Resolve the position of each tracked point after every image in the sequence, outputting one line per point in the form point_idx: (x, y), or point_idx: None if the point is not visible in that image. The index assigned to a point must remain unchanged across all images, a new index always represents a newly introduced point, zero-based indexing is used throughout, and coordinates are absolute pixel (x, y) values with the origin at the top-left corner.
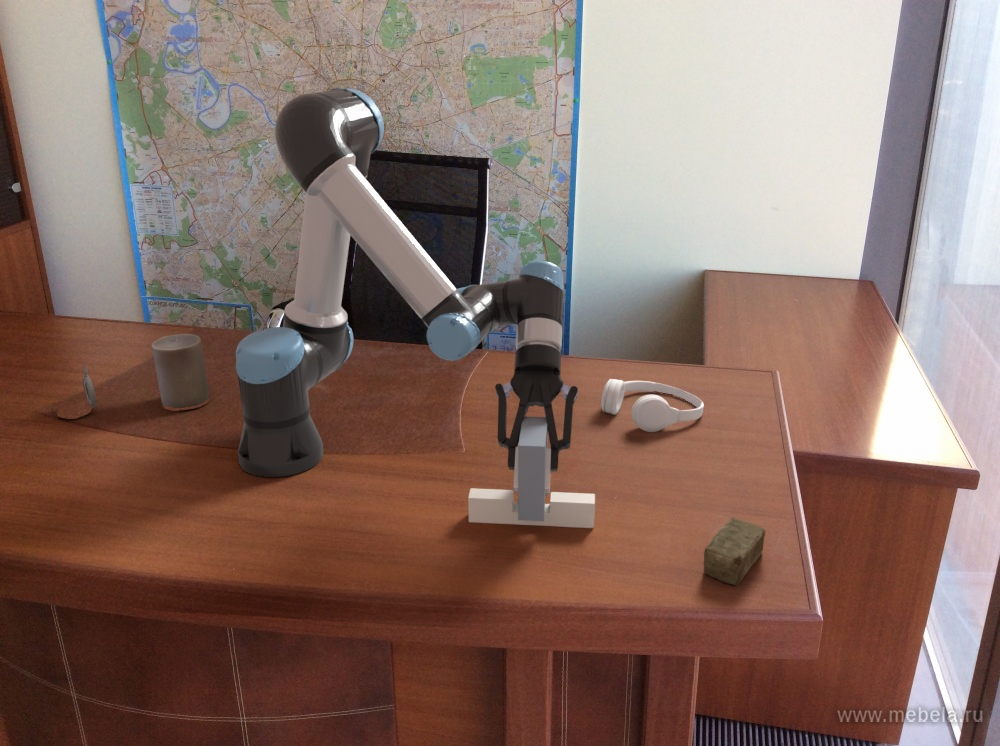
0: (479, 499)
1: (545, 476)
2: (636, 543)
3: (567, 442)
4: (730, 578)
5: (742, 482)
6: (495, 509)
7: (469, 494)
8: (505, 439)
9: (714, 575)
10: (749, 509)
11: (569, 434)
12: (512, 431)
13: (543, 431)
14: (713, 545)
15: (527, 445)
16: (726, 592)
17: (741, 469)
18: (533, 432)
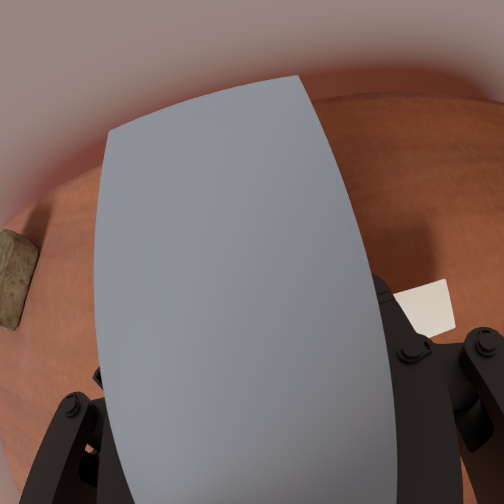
0: (420, 286)
1: None
2: (93, 305)
3: (71, 400)
4: (21, 235)
5: (27, 462)
6: None
7: (448, 295)
8: (460, 370)
9: (31, 242)
10: (11, 403)
11: (50, 436)
12: (448, 420)
13: (126, 391)
14: (7, 246)
15: (228, 94)
16: (33, 226)
17: None
18: (220, 352)
